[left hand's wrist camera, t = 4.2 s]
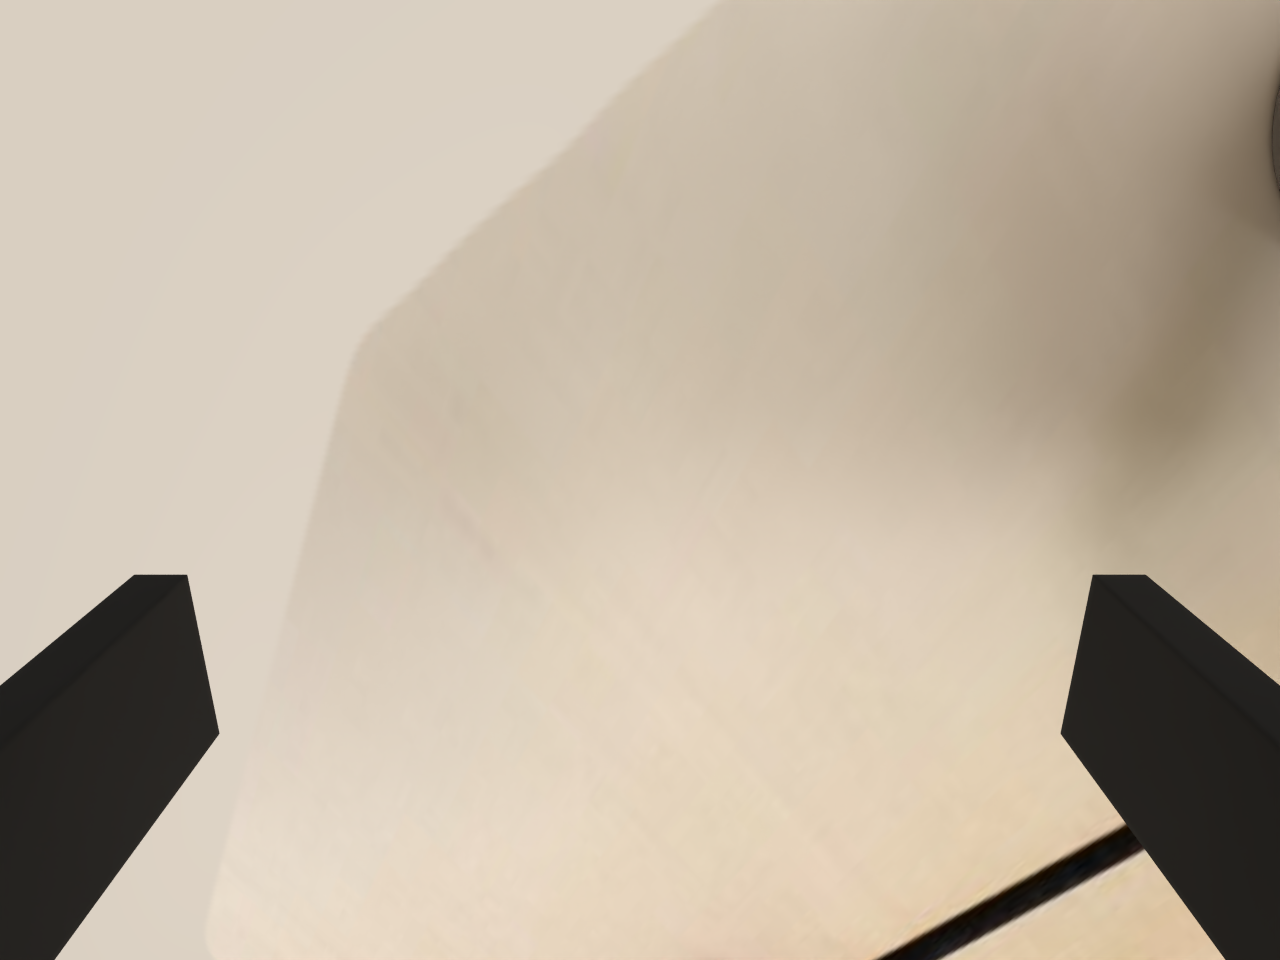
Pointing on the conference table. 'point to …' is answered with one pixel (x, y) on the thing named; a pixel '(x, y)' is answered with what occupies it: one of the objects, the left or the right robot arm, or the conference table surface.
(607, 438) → the conference table surface
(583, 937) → the conference table surface
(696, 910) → the conference table surface
